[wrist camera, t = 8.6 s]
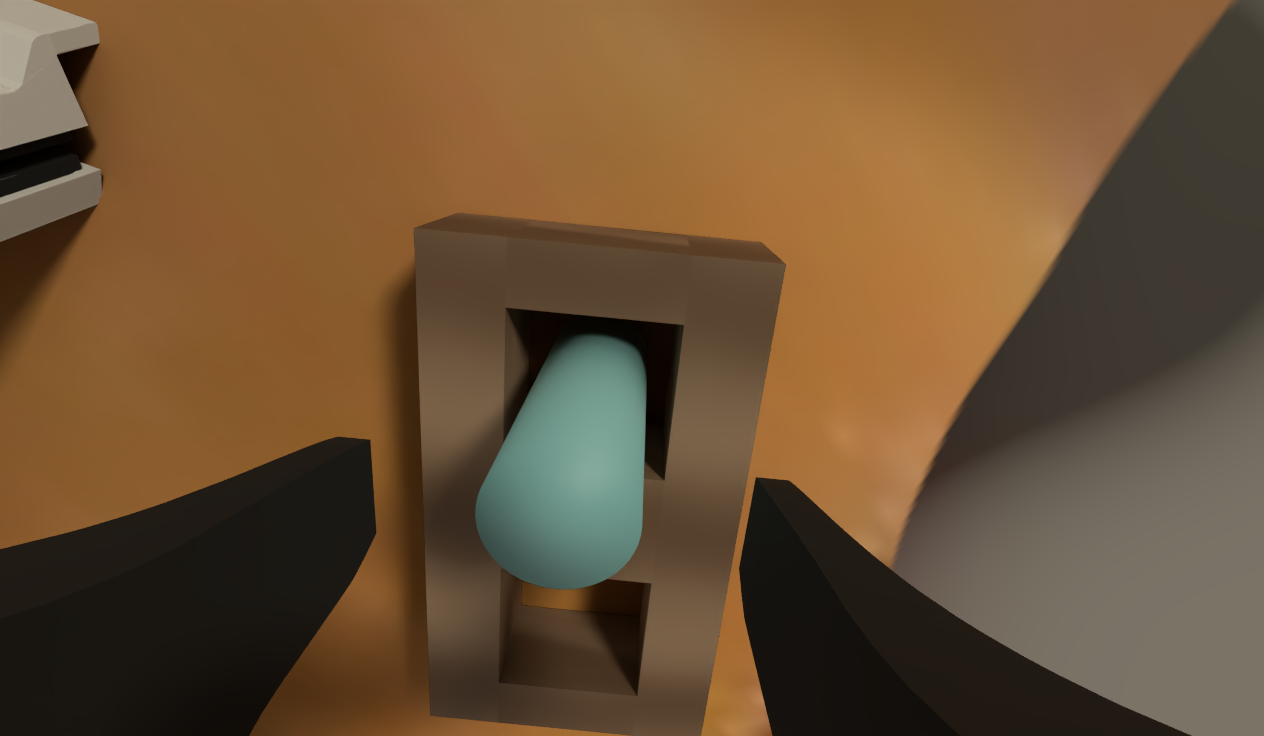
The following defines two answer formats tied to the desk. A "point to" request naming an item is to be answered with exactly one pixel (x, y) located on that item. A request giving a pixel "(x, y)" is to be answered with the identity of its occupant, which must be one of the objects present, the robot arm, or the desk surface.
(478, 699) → the hole block
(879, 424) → the desk surface
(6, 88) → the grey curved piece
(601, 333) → the peg
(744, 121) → the desk surface
